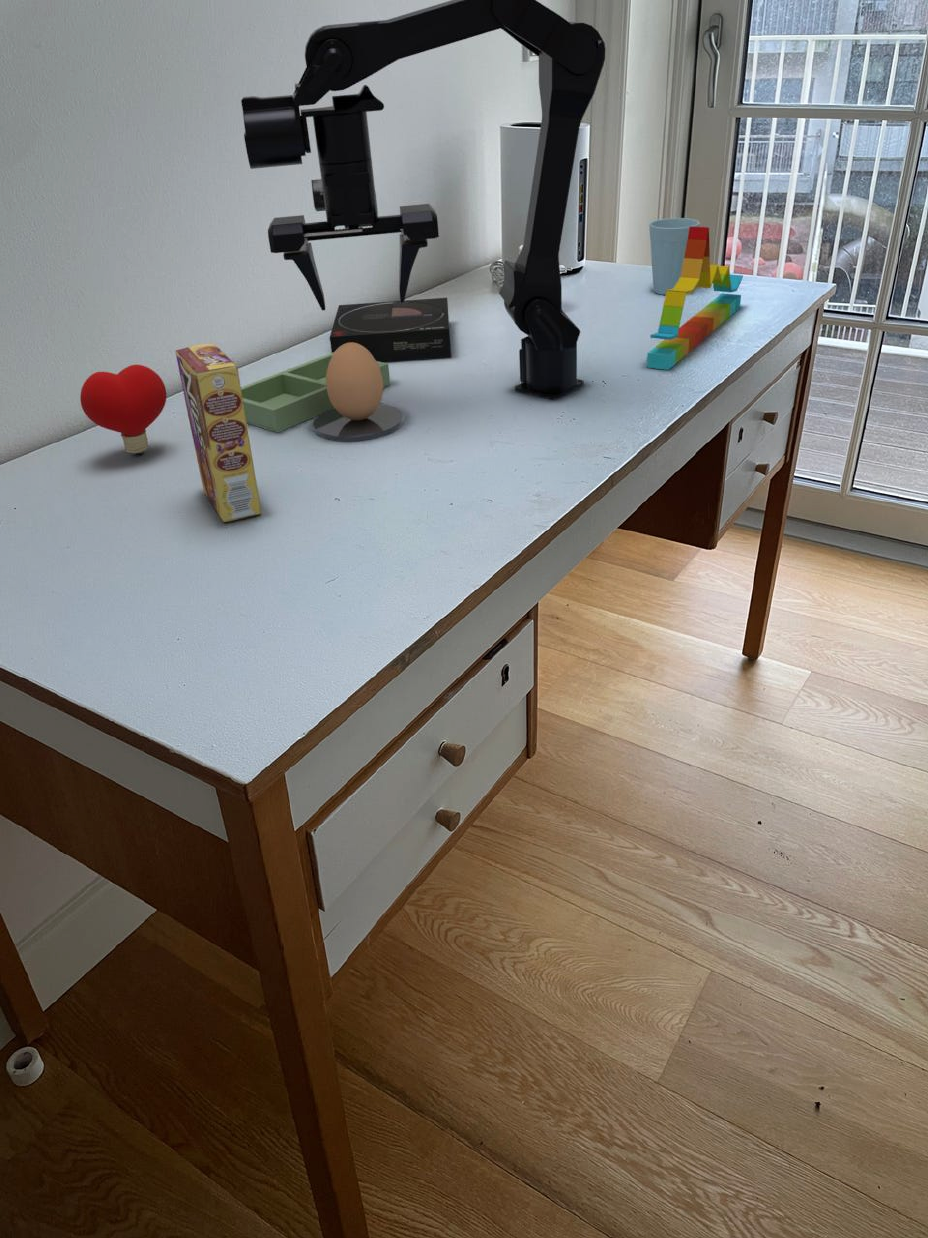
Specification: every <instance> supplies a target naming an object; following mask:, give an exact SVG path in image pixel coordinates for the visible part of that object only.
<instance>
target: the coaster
mask: <svg viewBox="0 0 928 1238" xmlns="http://www.w3.org/2000/svg"><path fill="white" fill-rule="evenodd" d="M404 421H405V417H404V413H403V411H401V410H400V408H397V407H395V406H393V405H390V404H385V403H380V404H379V406H378V407H377V409H376V411H375V412H374V413H373V414H372V415H371V416H369V417H368V418H366V419H363V420H351V419H348V418H346V417H344V416H343V415H341V414H340V413H339V412H338V411H337V410H336V409H335V408H334V409H331V410H328V411H326V412H324V413H322V414H320V415H318V416H316V417H315V419H314V420H313V423H312V427H313V431H314V433H315V434H316V435H317V436H318V437H321V438H322V439H326V440H330V441H336V442H362V441H369V440H373V439H378V438H380V437H381V438H382V437H384V436H388V435H390V434H392V433H393V432H395V431H397V430H399V429H400V428H401V427H402V425H403V424H404Z"/></svg>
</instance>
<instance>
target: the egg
mask: <svg viewBox="0 0 928 1238" xmlns="http://www.w3.org/2000/svg"><path fill="white" fill-rule="evenodd" d="M326 386H327V392H328V397H329V399H330V401H331V403H332V405H333V406H334V408H335V409H336V410H337V411H338V412H339V413H340V414H341V415H343V416H344V417H346V418H348V419H351V420H363V419H366V418H368V417H369V416H371V415H372V414H373V413H374V412H375V411H376V409H377V407H378V406H379V404H381V401H382V399H383V394H384V387H383V379H382V375H381V371H380V368H379V366H378V364H377V362H376V360H375V359H374V357H373V355H372V354H371V353H370V352H369V351H368V350H367V349H366V348H365V347H363V346H362V345H360V344H357V343H353V342H351V343H345V344H343V345H342V346H340V347H339V348H338V349H337V350H336V351H335V352H334V354H333V355H332V357H331V360H330V362H329V365H328V369H327V373H326Z"/></svg>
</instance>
